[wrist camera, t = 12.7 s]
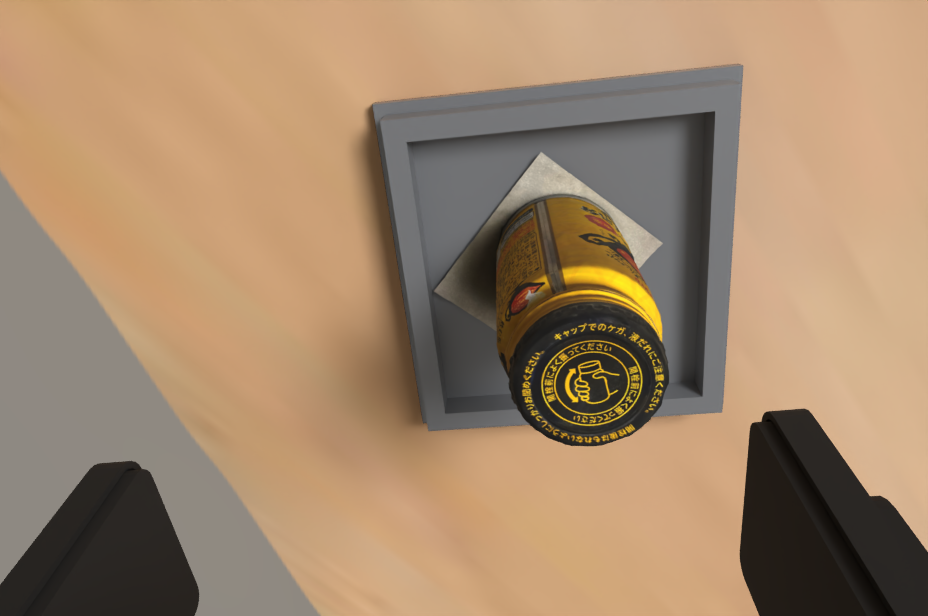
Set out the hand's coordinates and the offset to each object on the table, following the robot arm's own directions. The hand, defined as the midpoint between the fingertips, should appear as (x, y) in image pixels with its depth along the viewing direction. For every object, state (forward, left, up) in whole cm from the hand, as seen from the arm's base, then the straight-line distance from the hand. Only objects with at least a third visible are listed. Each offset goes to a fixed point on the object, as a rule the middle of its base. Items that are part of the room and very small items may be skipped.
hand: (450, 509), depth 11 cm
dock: (+5, +3, -24) cm, 24 cm away
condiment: (+5, +3, -23) cm, 24 cm away
